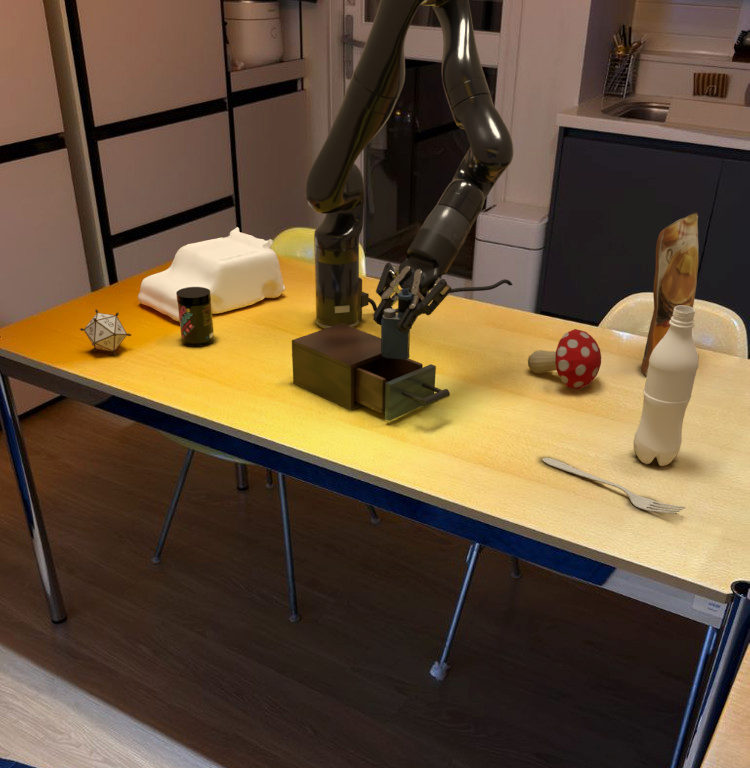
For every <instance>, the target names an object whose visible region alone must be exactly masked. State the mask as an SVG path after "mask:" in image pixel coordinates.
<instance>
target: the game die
mask: <svg viewBox="0 0 750 768" xmlns="http://www.w3.org/2000/svg"><path fill="white" fill-rule="evenodd" d="M94 311H95V315H94V316H93V317H92V318H91V319H90V321H88V323H87V325H86V326H85V327H84V328H83V327H80V328H79V330H80V331H81V332H82V331H83V332H84V333H85V335H86V336H87V338H88V340H89V342H90V343H91V346H93V349H92V352H96V351H97V350H100V351H107V352H112V354H113V355H114V356H117V352H116V351H117V349H118V348H119V347H120V346H121V344H122V342H124V340H125V338H127V336H128V337H131V336H132V334H131V333H127V331H126V329H125V327H124V325H123V324H122V322H121V320H120V319H119V317H118V316H119V311H118V312H115V314H110V313H102V312H99V309H97V308H95V309H94Z"/></svg>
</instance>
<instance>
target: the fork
mask: <svg viewBox="0 0 750 768" xmlns="http://www.w3.org/2000/svg"><path fill="white" fill-rule="evenodd" d="M541 460H542V462H543V463H545V464H547V465H548V466H551V467H553V468H556V469H559V470H562V471H564V472H567V473H570V474H574V475H576V476H579V477H583V478H586V479H589V480H592V481H596V482H598V483H601V484H604V485H605V484H606V485H608V486H611V487H614V488H617V489H619V490H621V491H623V492H624V493H625V494H626V495H627V497H628V498H629V500H630V502H631V503H632V505H633V506H635V507H637V508H638V509H641V510H645V511H650V512H655V513H657V512H658V513H662V514H671V515H672V514H673V515H676V514H678V513H680V511H684V509H686V506H681V505H675V504H669V503H665V502H660V501H656V500H653V499H651V498H648V497H644V496H641V495H638V494H636V493H634V492H632V491H631V490H629V489H628V488H626V487H625V486H622V485H620V484H617V483H615V482H612V481H609V480H607V479H603V478H601V477H598V476H595V475H593V474H590V473H588V472H586V471H583V470H581V469H579V468H576V467H574V466H571V465H569V464H567V463H565V462H563V461H560V460H557V459H555V458H552V457H544V458H542V459H541Z"/></svg>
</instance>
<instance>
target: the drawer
mask: <svg viewBox="0 0 750 768" xmlns="http://www.w3.org/2000/svg"><path fill="white" fill-rule="evenodd" d="M436 373H437V365H434V364H431V363H430V364H428V365H425V366H424V364H423V363H421V362H419V361H416V360H415V359H412V358H410V357H409V358H408V359H391V358H384V357H381V358H378V359H376V360H373V361H371V362H368V363H365V364H363V365H360V366H358V367H355V368H354V401H355V402H358V403H360V404H362V406H364V407H366V408H368V409H371V410H373V411H375V412H378V413H380V414H384V420H386V421H388V422H392V421H394V420H396V419H398V418H400V417H402V416H404V415H407V414H409V413H411V412H413V411H415V410H417V409H420V408H426V407H429V406H431V405H433V404H435V403H438V402H440V401H442V400H444V399H446V398H448V397H450V395H451V392H450V390H449V389H448V388H444V389H441V388H438V387H436Z"/></svg>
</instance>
